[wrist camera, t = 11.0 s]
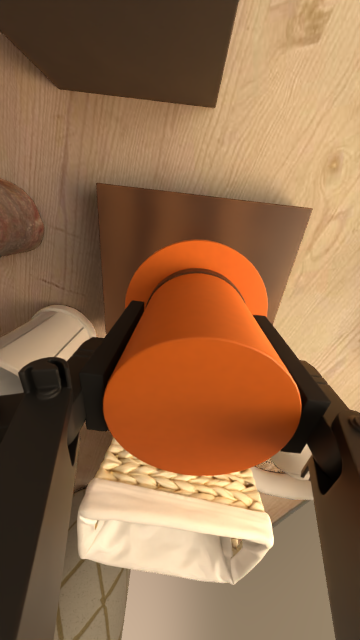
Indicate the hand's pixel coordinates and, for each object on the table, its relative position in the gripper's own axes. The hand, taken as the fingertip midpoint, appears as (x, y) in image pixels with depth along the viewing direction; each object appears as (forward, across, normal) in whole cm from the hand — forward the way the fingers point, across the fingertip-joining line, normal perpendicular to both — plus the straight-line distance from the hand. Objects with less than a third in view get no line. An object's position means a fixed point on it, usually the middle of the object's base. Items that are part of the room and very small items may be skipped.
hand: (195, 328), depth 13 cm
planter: (+14, -14, -59) cm, 62 cm away
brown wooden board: (+14, 0, 0) cm, 14 cm away
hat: (+2, 0, 0) cm, 2 cm away
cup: (+14, -16, -10) cm, 23 cm away
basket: (+14, +1, -33) cm, 36 cm away
